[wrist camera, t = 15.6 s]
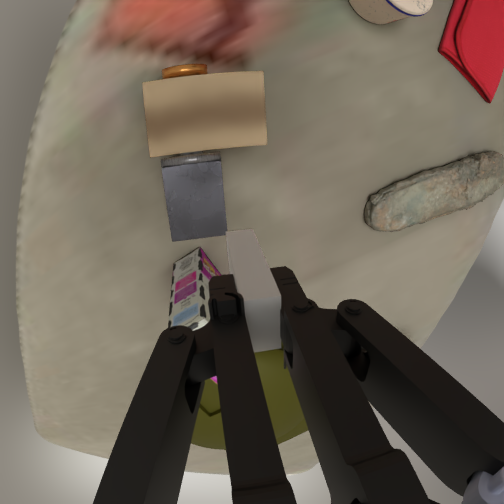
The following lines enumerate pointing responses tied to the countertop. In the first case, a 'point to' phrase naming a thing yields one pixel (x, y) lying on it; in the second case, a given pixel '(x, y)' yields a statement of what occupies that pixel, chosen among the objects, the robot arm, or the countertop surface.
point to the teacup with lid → (390, 9)
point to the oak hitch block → (205, 112)
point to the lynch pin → (181, 72)
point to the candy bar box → (191, 291)
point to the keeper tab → (194, 196)
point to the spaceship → (277, 397)
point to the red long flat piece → (476, 43)
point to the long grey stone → (436, 192)
